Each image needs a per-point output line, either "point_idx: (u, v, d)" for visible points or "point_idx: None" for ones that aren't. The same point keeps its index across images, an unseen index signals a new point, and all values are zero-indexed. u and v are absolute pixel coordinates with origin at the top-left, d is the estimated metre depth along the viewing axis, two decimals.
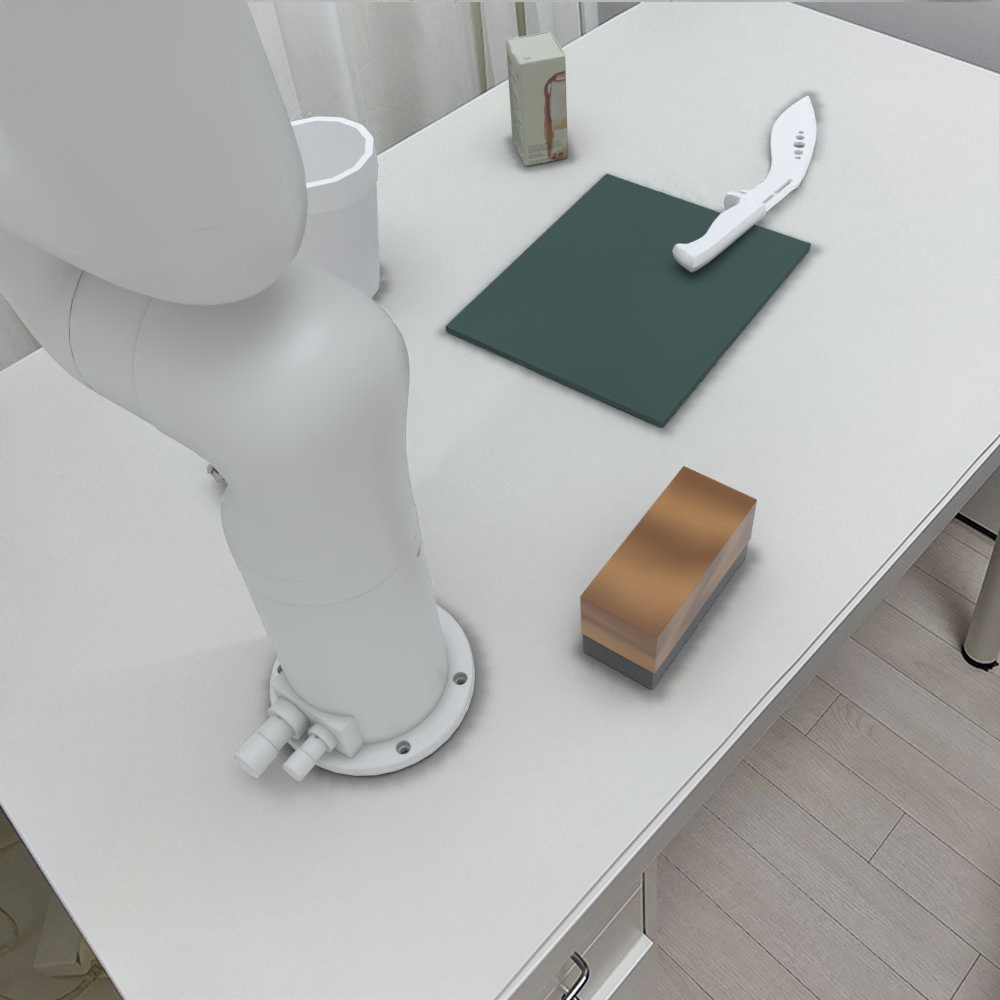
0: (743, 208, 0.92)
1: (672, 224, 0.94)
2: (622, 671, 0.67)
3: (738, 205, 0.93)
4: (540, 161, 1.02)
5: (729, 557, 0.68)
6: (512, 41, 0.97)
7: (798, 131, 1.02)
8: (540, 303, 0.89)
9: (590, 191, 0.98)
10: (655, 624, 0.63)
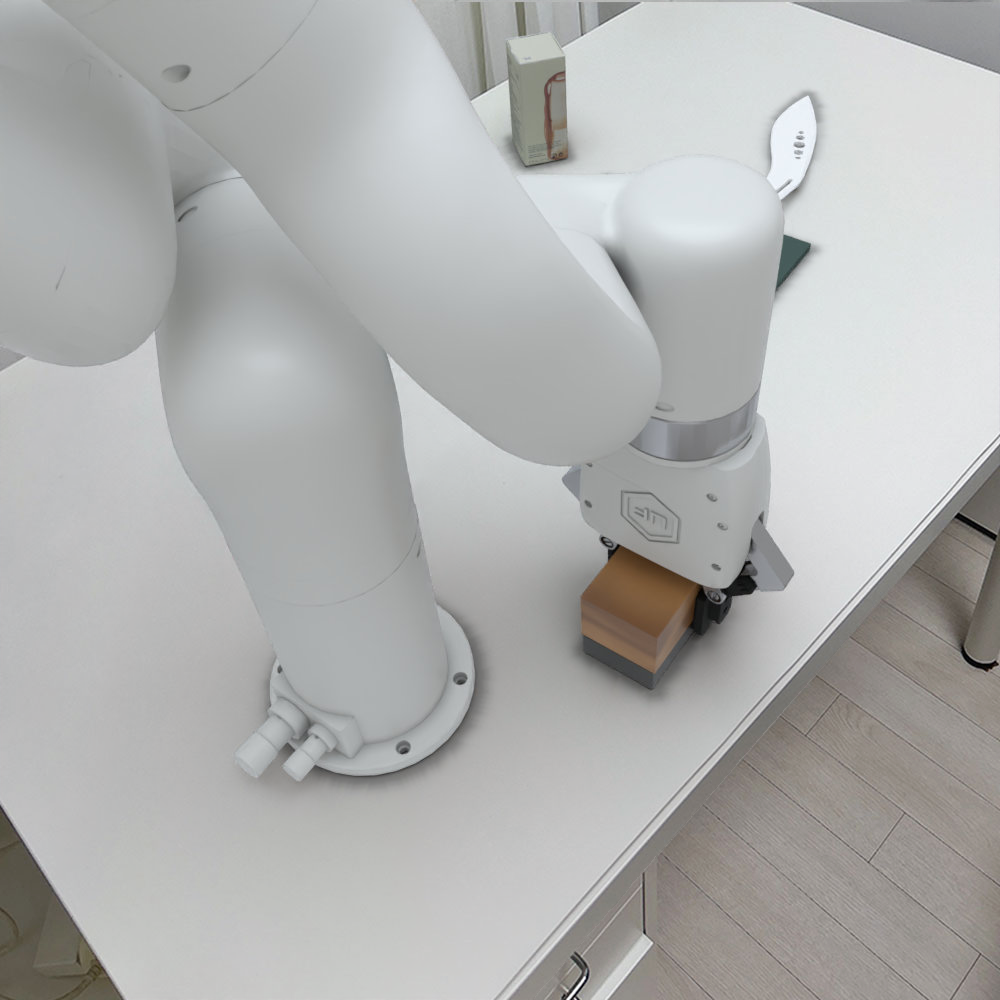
0: None
1: None
2: (622, 671, 0.67)
3: None
4: (540, 161, 1.02)
5: None
6: (512, 41, 0.97)
7: (798, 131, 1.02)
8: None
9: None
10: (656, 624, 0.63)
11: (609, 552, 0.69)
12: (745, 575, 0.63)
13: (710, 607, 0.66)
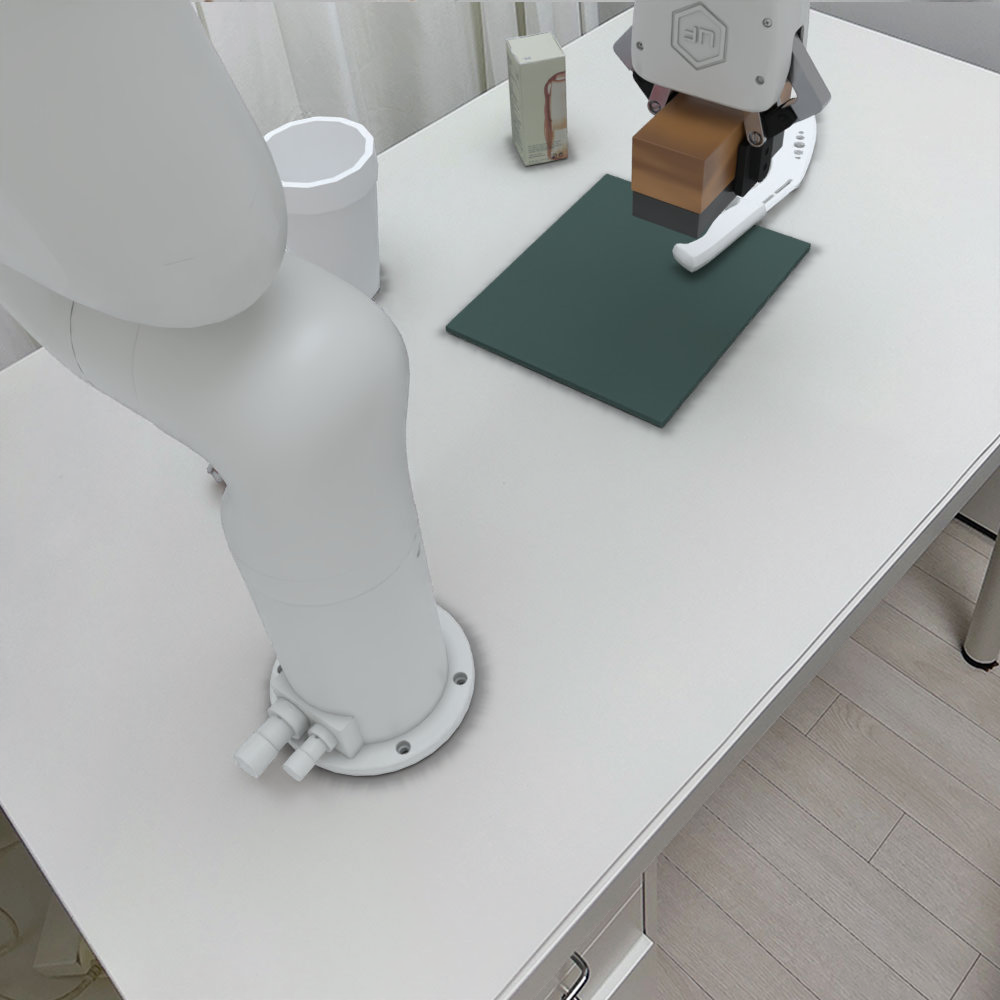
0: (743, 208, 0.92)
1: None
2: (669, 225, 0.73)
3: (738, 205, 0.93)
4: (540, 161, 1.02)
5: None
6: (512, 41, 0.97)
7: (798, 131, 1.02)
8: (540, 303, 0.89)
9: (590, 191, 0.98)
10: (703, 152, 0.68)
11: None
12: (785, 107, 0.68)
13: (751, 161, 0.72)
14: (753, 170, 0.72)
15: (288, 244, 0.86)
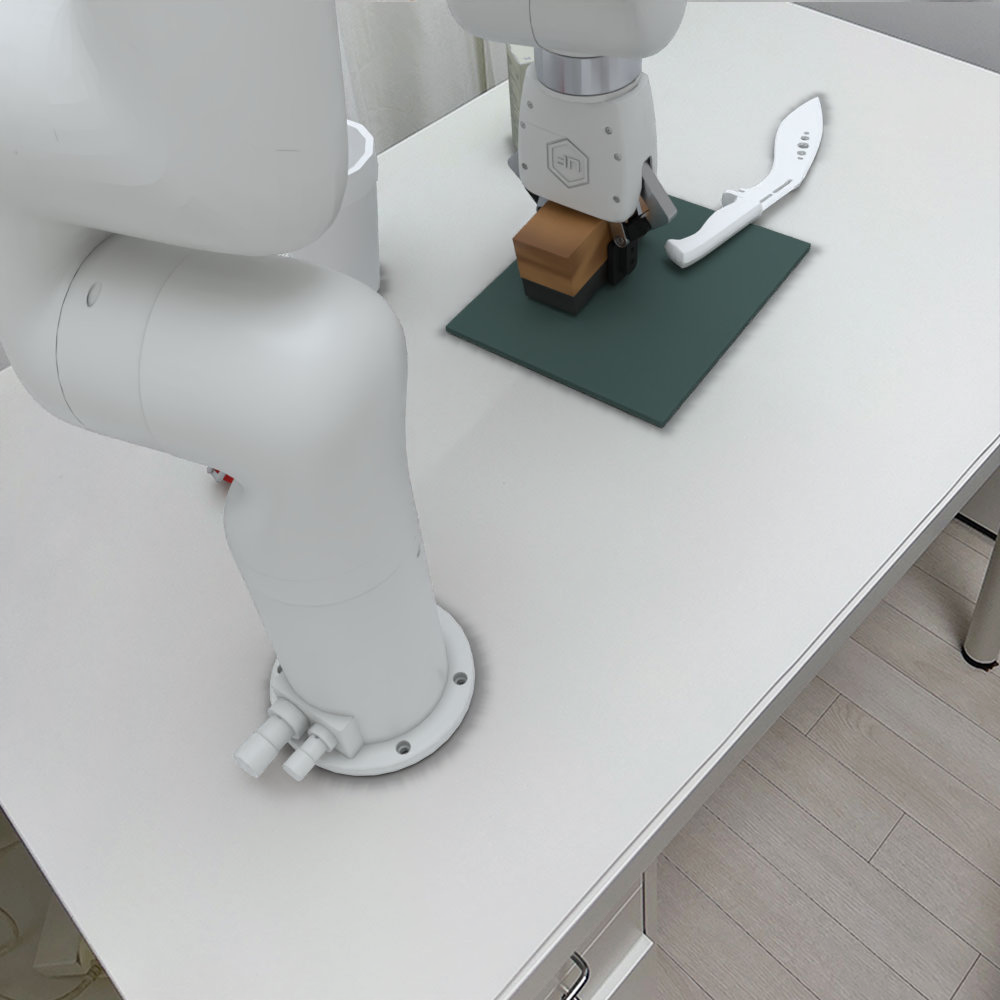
0: (739, 206, 0.92)
1: (672, 224, 0.94)
2: (553, 304, 0.88)
3: (734, 203, 0.93)
4: None
5: None
6: None
7: (804, 132, 1.02)
8: (540, 303, 0.89)
9: None
10: (567, 249, 0.83)
11: None
12: (641, 217, 0.83)
13: (619, 257, 0.87)
14: (622, 265, 0.88)
15: None
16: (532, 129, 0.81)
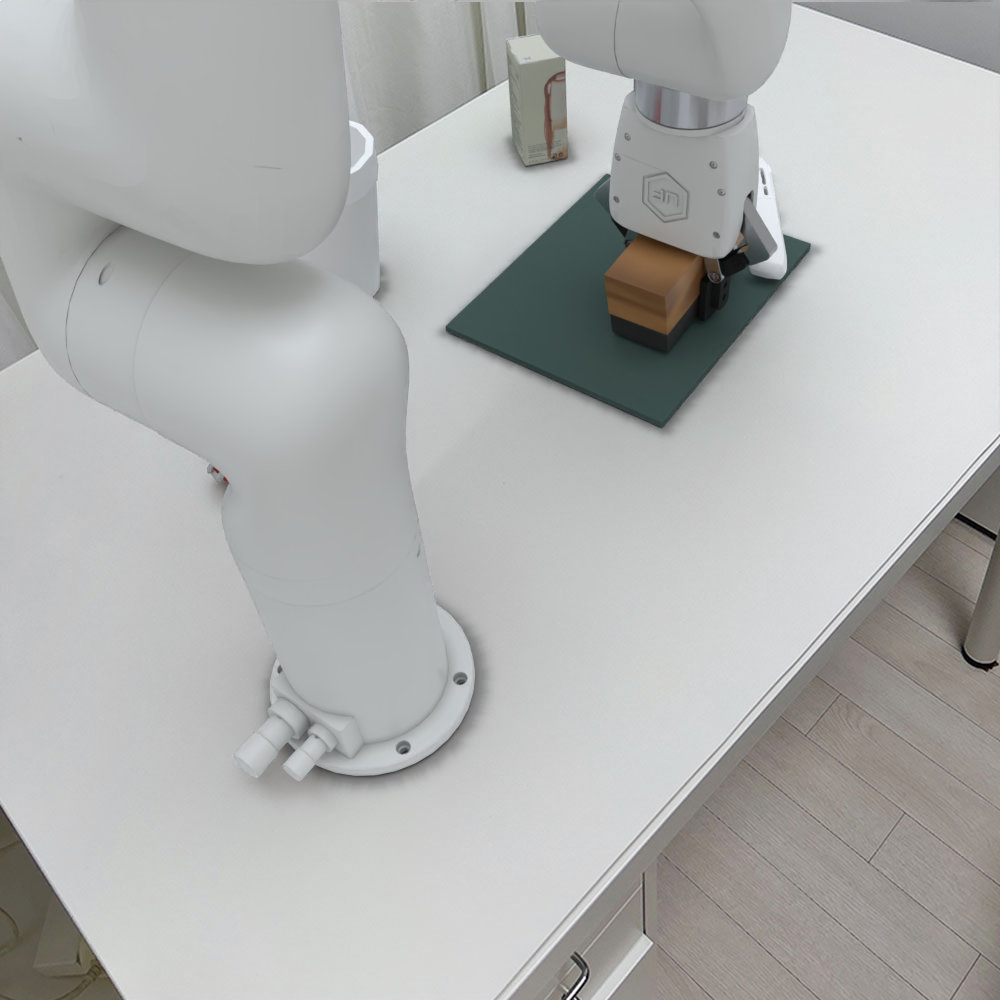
0: (765, 206, 0.92)
1: None
2: (643, 341, 0.84)
3: (757, 205, 0.92)
4: (540, 161, 1.02)
5: None
6: (512, 41, 0.97)
7: None
8: (540, 303, 0.89)
9: (590, 191, 0.98)
10: (664, 287, 0.79)
11: None
12: (739, 253, 0.80)
13: (712, 293, 0.84)
14: (714, 300, 0.84)
15: None
16: (628, 162, 0.78)
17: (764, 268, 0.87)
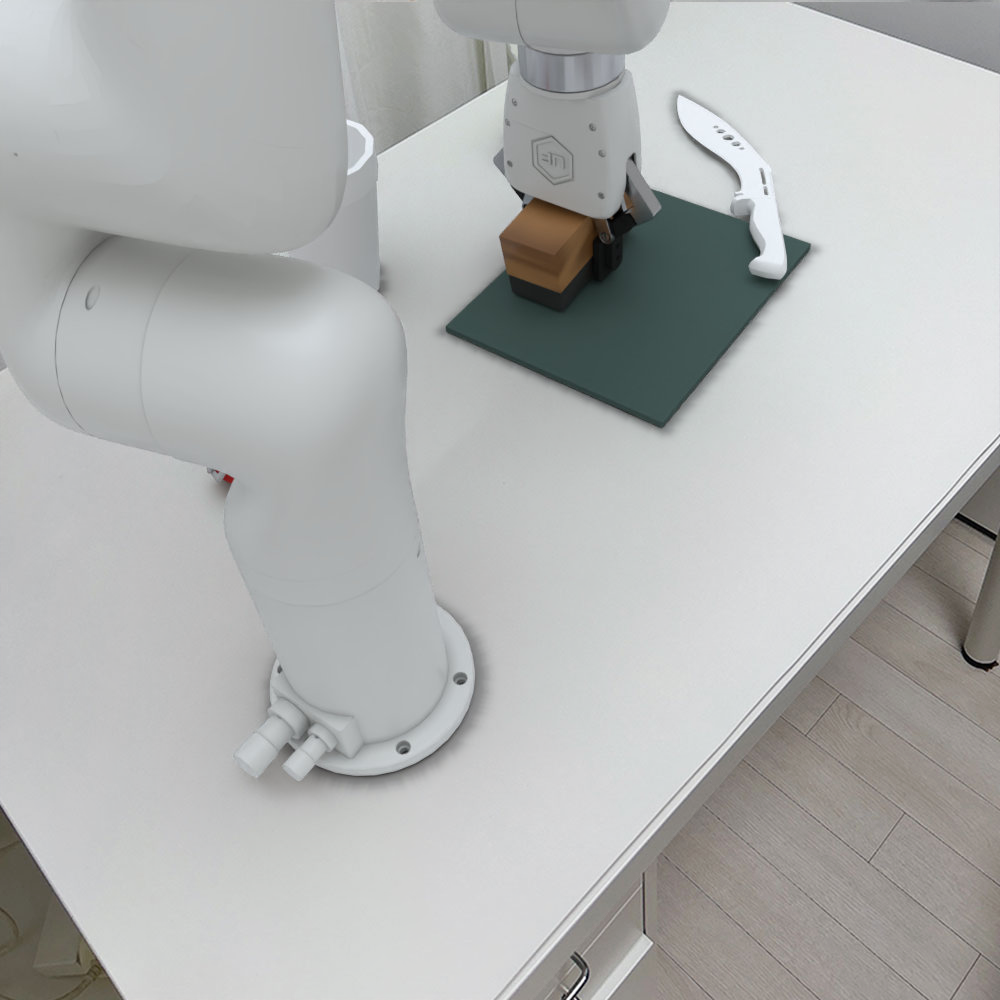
0: (765, 206, 0.92)
1: (672, 224, 0.94)
2: (540, 300, 0.88)
3: (757, 205, 0.92)
4: None
5: None
6: None
7: (712, 126, 1.03)
8: (540, 303, 0.89)
9: None
10: (554, 246, 0.83)
11: None
12: (626, 214, 0.84)
13: (605, 254, 0.88)
14: (607, 261, 0.88)
15: None
16: (517, 126, 0.82)
17: (764, 268, 0.87)
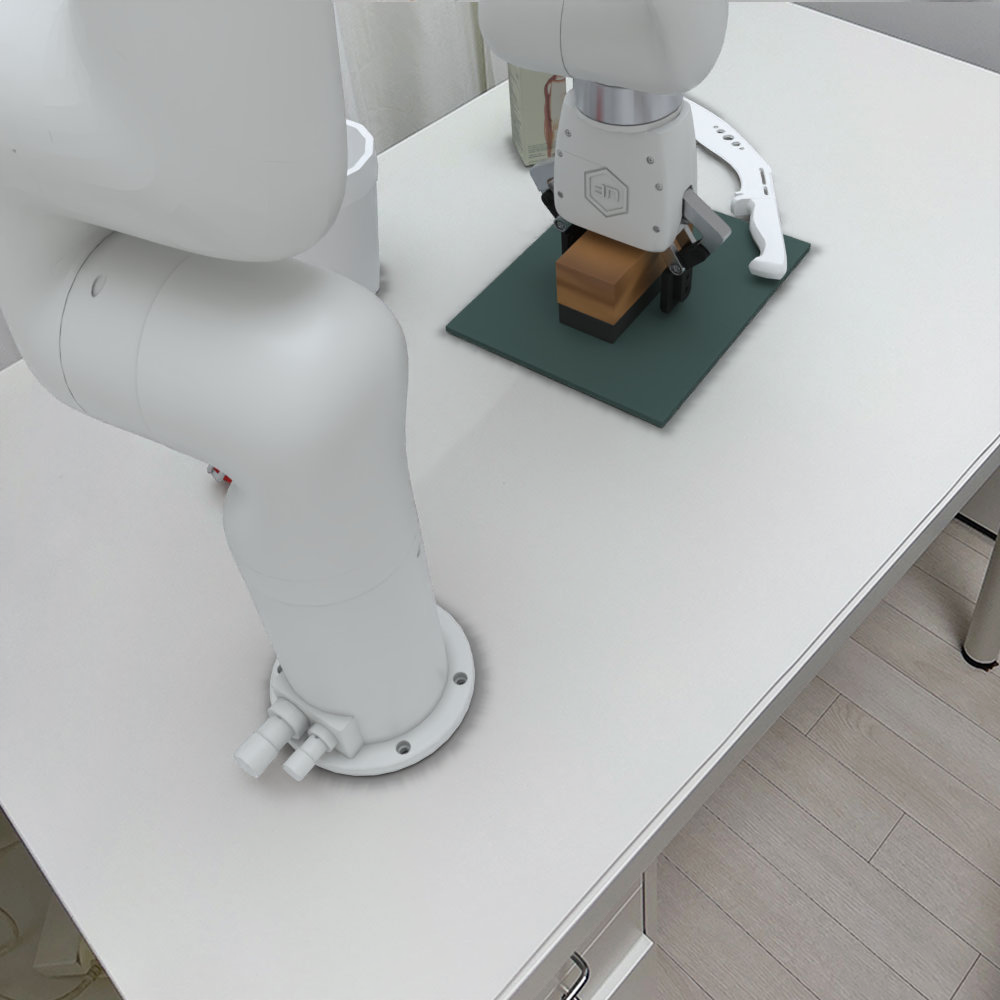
0: (765, 206, 0.92)
1: None
2: (589, 332, 0.86)
3: (757, 205, 0.92)
4: None
5: None
6: None
7: (712, 126, 1.03)
8: (540, 303, 0.89)
9: None
10: (613, 276, 0.81)
11: (562, 239, 0.88)
12: (697, 245, 0.81)
13: (674, 285, 0.84)
14: (676, 292, 0.85)
15: None
16: (569, 158, 0.79)
17: (764, 268, 0.87)
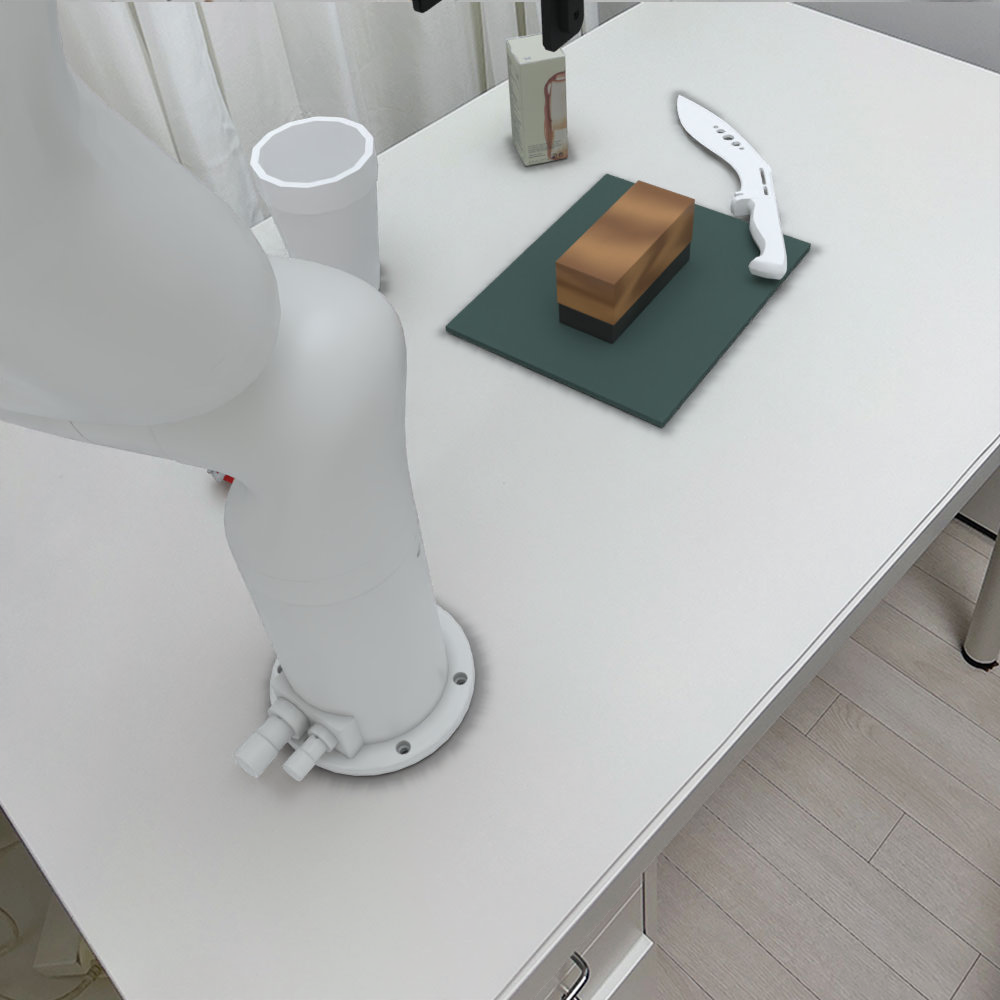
0: (765, 206, 0.92)
1: None
2: (589, 332, 0.86)
3: (757, 205, 0.92)
4: (540, 161, 1.02)
5: (673, 245, 0.87)
6: (512, 41, 0.97)
7: (712, 126, 1.03)
8: (540, 303, 0.89)
9: (590, 191, 0.98)
10: (613, 276, 0.81)
11: None
12: None
13: (558, 6, 0.62)
14: (562, 18, 0.63)
15: (288, 244, 0.86)
16: None
17: (764, 268, 0.87)
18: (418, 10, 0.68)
